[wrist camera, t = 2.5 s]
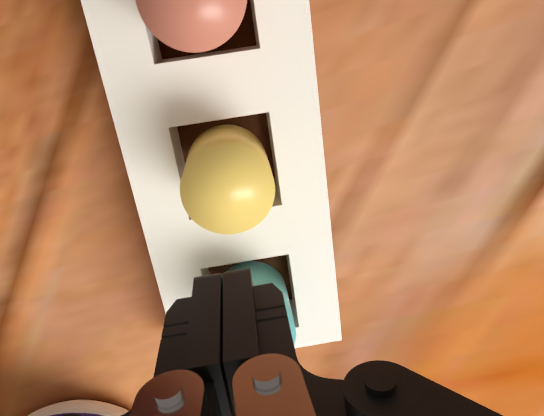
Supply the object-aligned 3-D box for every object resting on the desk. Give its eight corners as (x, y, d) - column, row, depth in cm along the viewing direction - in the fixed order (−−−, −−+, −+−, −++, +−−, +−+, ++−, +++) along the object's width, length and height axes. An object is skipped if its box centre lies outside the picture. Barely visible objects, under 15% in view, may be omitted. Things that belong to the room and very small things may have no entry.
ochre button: (261, 118, 24) (268, 137, 20) (272, 194, 25) (281, 226, 21) (179, 131, 23) (170, 153, 20) (196, 207, 25) (190, 241, 21)
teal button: (281, 255, 27) (290, 295, 23) (290, 315, 28) (300, 362, 24) (209, 267, 27) (206, 309, 23) (222, 327, 28) (221, 376, 24)
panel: (287, -106, 22) (296, -124, 19) (331, 311, 31) (341, 340, 28) (77, -77, 22) (56, -91, 19) (184, 337, 31) (180, 368, 28)
